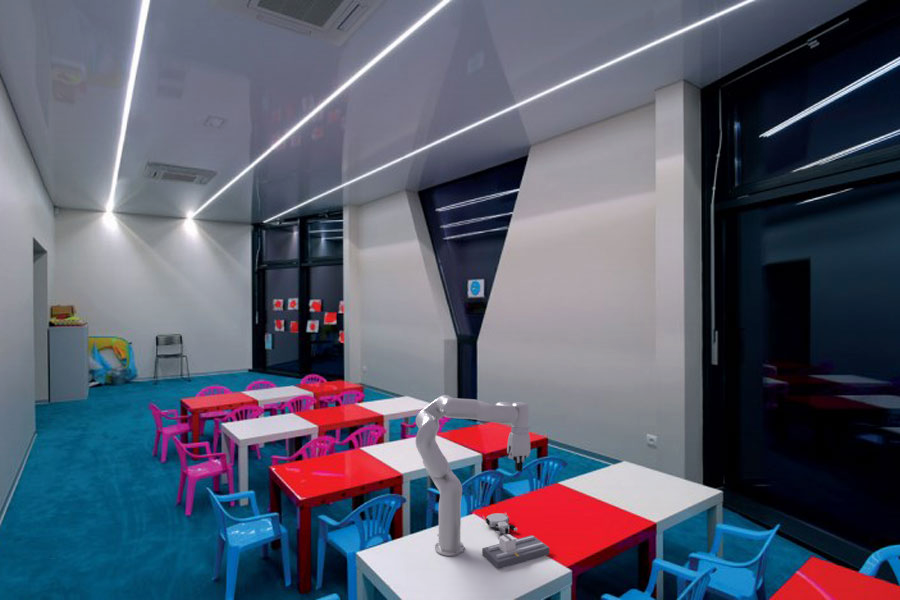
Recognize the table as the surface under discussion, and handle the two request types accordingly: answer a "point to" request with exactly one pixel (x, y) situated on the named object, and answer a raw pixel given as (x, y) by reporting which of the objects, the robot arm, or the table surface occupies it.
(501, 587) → the table surface
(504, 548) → the fader tab
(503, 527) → the robot toy
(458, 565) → the table surface
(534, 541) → the grey slider rail base
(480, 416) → the robot arm
